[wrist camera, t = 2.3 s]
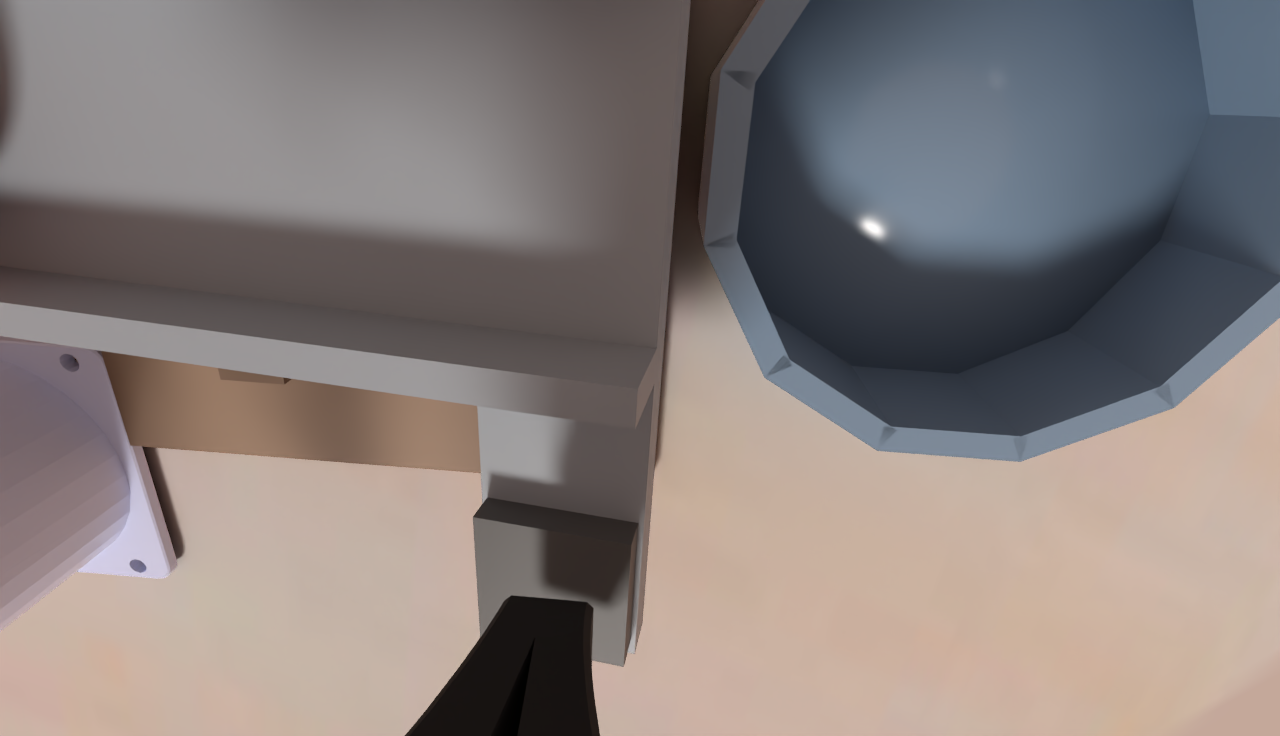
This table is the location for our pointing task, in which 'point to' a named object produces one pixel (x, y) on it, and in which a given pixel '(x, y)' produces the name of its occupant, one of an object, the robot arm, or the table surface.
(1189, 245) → the bowl
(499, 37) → the lever
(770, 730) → the table surface
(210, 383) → the catapult base
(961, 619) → the table surface
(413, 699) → the table surface
